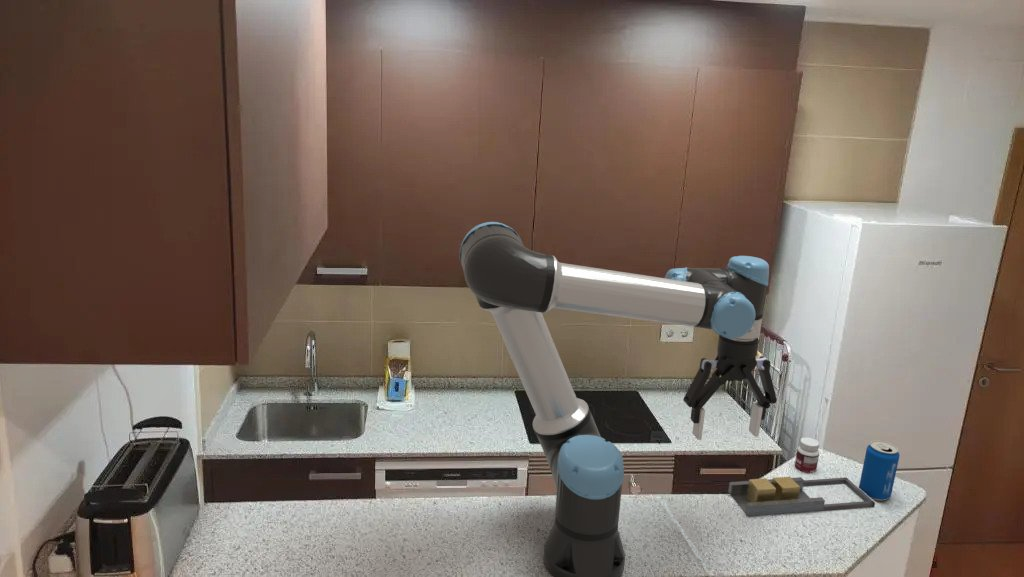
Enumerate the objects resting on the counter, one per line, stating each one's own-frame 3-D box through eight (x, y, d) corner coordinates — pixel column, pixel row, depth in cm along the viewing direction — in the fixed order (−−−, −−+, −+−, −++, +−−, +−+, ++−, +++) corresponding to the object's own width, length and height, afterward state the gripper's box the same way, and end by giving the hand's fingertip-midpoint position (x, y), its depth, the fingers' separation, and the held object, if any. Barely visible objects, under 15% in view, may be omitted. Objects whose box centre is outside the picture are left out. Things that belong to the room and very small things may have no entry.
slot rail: (747, 522, 147) (749, 506, 145) (727, 498, 155) (729, 482, 154) (821, 517, 150) (824, 500, 148) (798, 493, 158) (801, 477, 157)
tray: (821, 517, 150) (823, 506, 149) (796, 490, 159) (797, 480, 158) (872, 513, 152) (875, 502, 151) (844, 487, 161) (846, 477, 160)
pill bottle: (791, 467, 169) (796, 435, 166) (812, 469, 168) (817, 437, 166) (796, 477, 164) (801, 445, 162) (817, 480, 164) (823, 447, 161)
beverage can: (872, 504, 155) (882, 455, 151) (851, 488, 161) (861, 440, 157) (897, 500, 156) (907, 452, 153) (875, 484, 162) (885, 437, 159)
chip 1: (755, 508, 149) (758, 489, 148) (746, 497, 153) (749, 479, 151) (773, 507, 150) (776, 488, 148) (763, 496, 153) (766, 478, 152)
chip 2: (779, 506, 150) (782, 488, 149) (769, 496, 154) (772, 477, 152) (796, 505, 151) (800, 486, 149) (786, 494, 154) (789, 476, 153)
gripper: (689, 343, 133) (677, 447, 139) (806, 340, 137) (789, 441, 143) (673, 330, 140) (662, 428, 146) (785, 327, 144) (770, 423, 150)
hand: (725, 435), depth 145 cm, fingers open, 12 cm apart
